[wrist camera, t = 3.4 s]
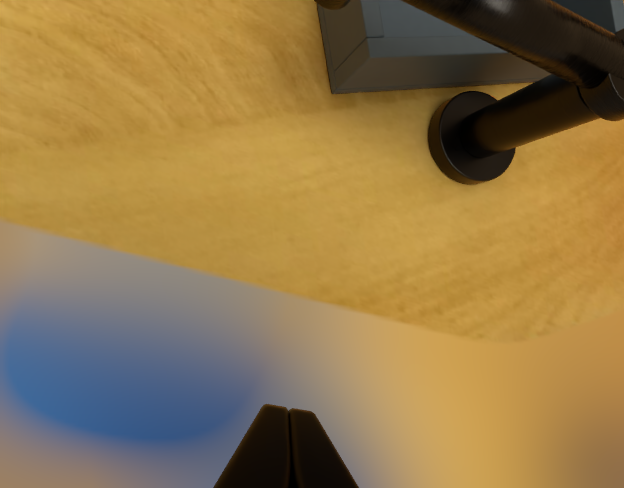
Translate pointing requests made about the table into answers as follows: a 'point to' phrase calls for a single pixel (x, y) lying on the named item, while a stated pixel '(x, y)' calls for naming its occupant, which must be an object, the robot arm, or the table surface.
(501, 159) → the tap column
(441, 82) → the sink
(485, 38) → the spout
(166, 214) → the table surface
